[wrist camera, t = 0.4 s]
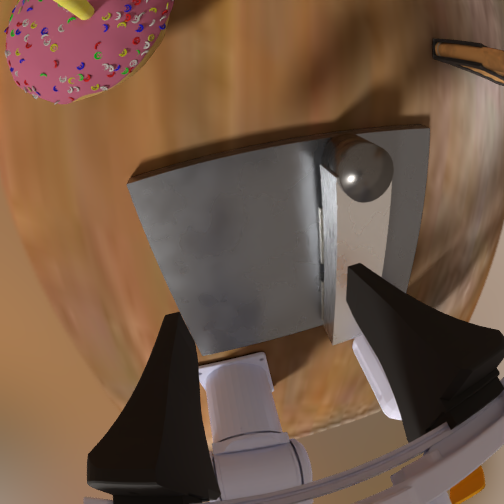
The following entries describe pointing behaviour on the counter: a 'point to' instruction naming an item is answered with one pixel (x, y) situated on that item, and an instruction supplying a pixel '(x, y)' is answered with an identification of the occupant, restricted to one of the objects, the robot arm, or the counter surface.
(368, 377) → the soap bottle
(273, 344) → the counter surface
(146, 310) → the counter surface
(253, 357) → the robot arm
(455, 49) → the ammunition clip
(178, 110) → the counter surface
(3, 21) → the counter surface
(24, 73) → the cupcake
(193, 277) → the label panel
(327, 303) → the white long bar
